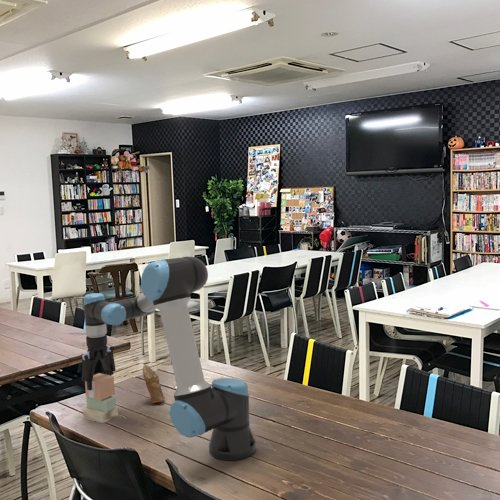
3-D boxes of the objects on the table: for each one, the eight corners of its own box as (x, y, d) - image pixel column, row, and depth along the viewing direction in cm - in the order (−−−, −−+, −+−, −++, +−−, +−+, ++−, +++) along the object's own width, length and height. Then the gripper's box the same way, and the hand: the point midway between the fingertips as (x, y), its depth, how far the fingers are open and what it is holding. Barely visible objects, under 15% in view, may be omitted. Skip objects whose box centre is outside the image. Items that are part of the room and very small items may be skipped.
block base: (99, 411, 223) (99, 401, 223) (118, 416, 218) (117, 406, 217) (83, 419, 217) (83, 409, 216) (102, 424, 211) (101, 414, 211)
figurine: (163, 405, 227) (161, 368, 225) (142, 405, 227) (140, 368, 225) (166, 397, 235) (165, 361, 233) (147, 397, 235) (145, 362, 233)
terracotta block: (100, 390, 222) (99, 373, 221) (114, 394, 218) (113, 376, 217) (86, 396, 216) (84, 378, 215) (100, 400, 212) (99, 382, 211)
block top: (96, 403, 222) (95, 393, 221) (116, 407, 217) (115, 397, 216) (86, 407, 217) (86, 397, 217) (106, 412, 212) (106, 401, 212)
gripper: (109, 327, 225) (113, 384, 227) (67, 340, 208) (72, 401, 211) (123, 330, 220) (126, 388, 223) (81, 342, 204) (85, 405, 207)
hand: (100, 394), depth 217 cm, fingers closed on terracotta block, 7 cm apart
